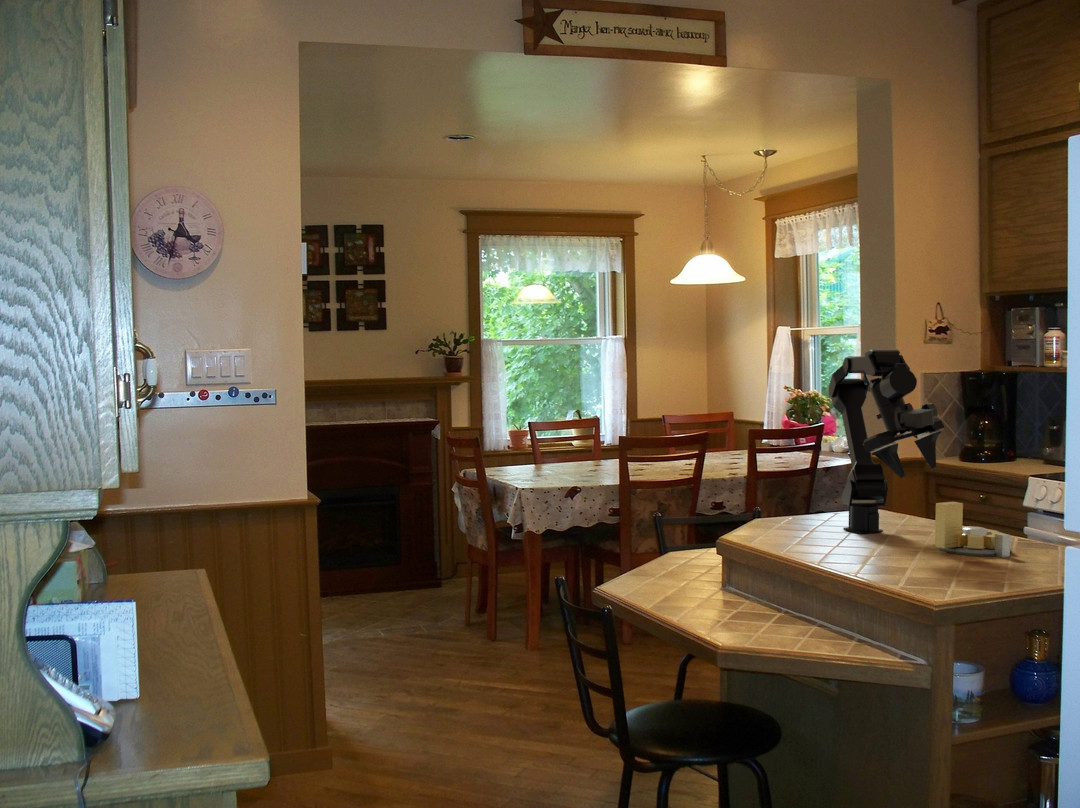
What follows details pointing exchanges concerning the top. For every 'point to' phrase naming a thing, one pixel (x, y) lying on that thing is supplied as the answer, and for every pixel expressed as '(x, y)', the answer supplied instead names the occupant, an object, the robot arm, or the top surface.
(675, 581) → the top surface
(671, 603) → the top surface
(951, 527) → the beige block cluster
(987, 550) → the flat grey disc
